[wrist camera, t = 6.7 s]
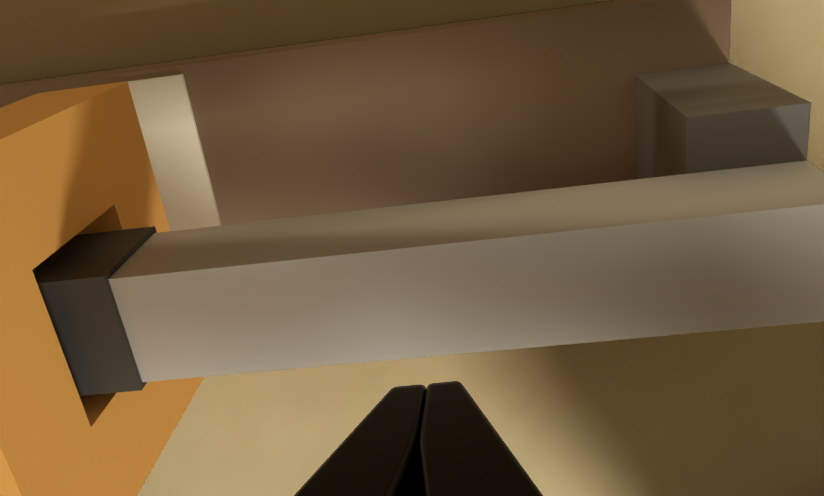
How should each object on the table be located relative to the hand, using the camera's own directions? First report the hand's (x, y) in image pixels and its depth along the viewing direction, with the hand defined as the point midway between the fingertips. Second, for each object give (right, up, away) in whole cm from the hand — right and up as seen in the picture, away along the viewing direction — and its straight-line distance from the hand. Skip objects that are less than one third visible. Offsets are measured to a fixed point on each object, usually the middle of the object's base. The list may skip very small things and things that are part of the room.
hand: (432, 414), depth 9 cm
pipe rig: (-2, +4, +9) cm, 10 cm away
